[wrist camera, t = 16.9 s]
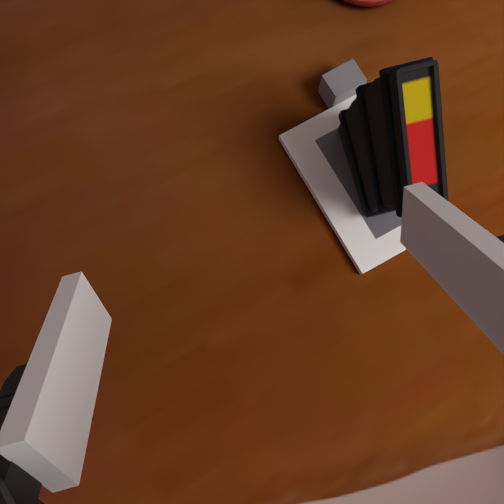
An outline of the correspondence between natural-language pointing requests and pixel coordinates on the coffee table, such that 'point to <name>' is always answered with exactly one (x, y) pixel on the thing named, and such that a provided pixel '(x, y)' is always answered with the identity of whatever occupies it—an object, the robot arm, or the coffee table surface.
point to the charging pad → (340, 174)
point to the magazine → (395, 136)
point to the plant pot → (368, 2)
